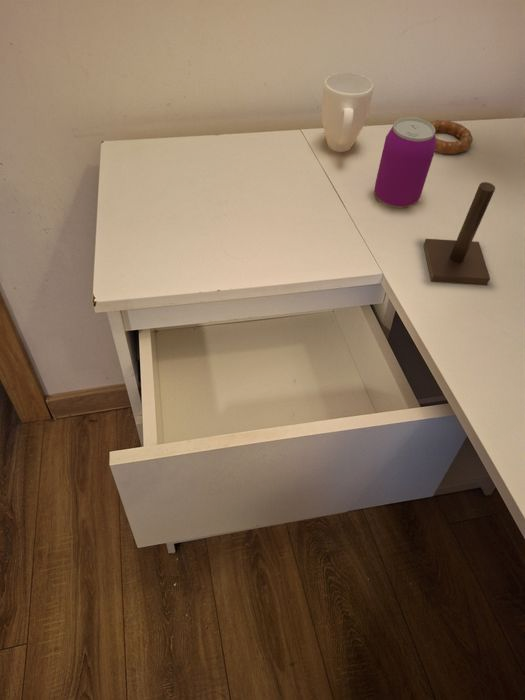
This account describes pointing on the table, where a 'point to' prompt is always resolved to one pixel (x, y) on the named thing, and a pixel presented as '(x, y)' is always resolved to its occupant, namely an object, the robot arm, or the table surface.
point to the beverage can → (405, 162)
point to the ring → (456, 130)
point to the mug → (345, 108)
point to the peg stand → (461, 247)
